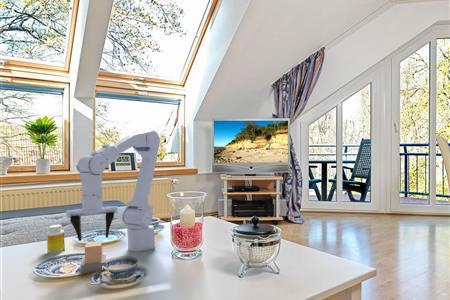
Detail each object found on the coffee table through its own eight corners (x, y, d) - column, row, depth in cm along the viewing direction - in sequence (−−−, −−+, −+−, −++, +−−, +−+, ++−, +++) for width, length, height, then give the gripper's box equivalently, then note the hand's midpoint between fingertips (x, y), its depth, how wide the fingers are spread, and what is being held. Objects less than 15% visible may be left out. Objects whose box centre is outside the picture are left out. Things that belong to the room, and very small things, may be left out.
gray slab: (106, 260, 103) (106, 254, 103) (106, 268, 96) (106, 262, 96) (82, 264, 100) (82, 257, 100) (81, 272, 94) (80, 265, 94)
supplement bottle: (66, 254, 114) (65, 225, 114) (49, 258, 110) (48, 228, 110) (62, 250, 118) (61, 223, 118) (46, 253, 115) (44, 225, 114)
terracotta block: (102, 256, 101) (101, 241, 101) (101, 261, 96) (100, 245, 96) (87, 258, 99) (86, 242, 99) (85, 263, 95) (84, 247, 95)
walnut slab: (108, 266, 103) (108, 260, 103) (108, 275, 96) (107, 269, 96) (81, 270, 100) (81, 264, 100) (79, 280, 93) (78, 273, 93)
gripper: (64, 198, 91) (65, 245, 92) (117, 194, 96) (118, 239, 97) (67, 194, 98) (69, 238, 98) (116, 191, 103) (118, 232, 103)
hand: (93, 238), depth 98 cm, fingers open, 7 cm apart
